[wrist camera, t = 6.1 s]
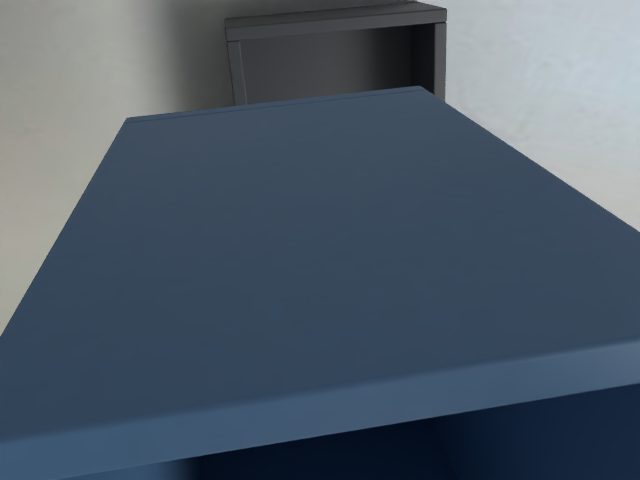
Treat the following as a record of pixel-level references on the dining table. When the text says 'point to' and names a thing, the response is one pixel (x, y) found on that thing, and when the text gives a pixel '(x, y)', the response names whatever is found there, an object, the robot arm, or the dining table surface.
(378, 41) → the charcoal bin
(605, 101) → the dining table surface
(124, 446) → the blue bin
